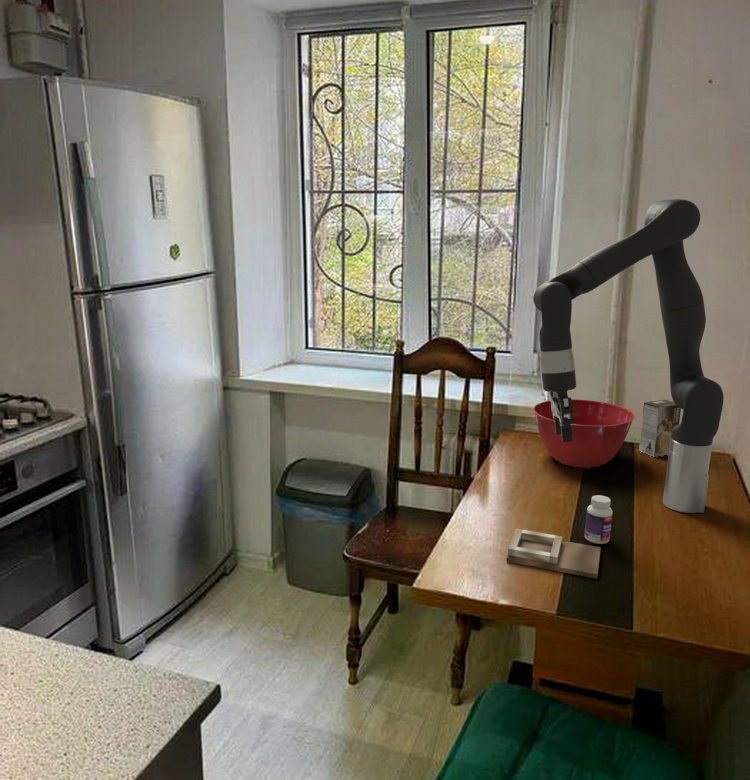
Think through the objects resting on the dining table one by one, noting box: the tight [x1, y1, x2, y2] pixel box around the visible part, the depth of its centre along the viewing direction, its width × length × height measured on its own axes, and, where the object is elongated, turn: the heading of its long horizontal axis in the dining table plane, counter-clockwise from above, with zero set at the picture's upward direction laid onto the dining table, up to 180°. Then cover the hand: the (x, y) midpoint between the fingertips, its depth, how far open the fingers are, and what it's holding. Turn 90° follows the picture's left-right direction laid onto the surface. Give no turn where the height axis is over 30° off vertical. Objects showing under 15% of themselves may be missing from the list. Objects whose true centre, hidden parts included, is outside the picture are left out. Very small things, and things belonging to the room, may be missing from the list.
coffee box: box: [638, 399, 682, 458], centre depth 202 cm, size 9×6×16 cm
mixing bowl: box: [532, 398, 636, 469], centre depth 195 cm, size 28×28×16 cm
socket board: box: [506, 528, 602, 580], centre depth 140 cm, size 18×12×2 cm, turn 69°
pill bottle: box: [584, 494, 613, 545], centre depth 147 cm, size 5×5×10 cm
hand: (563, 437), depth 155 cm, fingers open, 8 cm apart
